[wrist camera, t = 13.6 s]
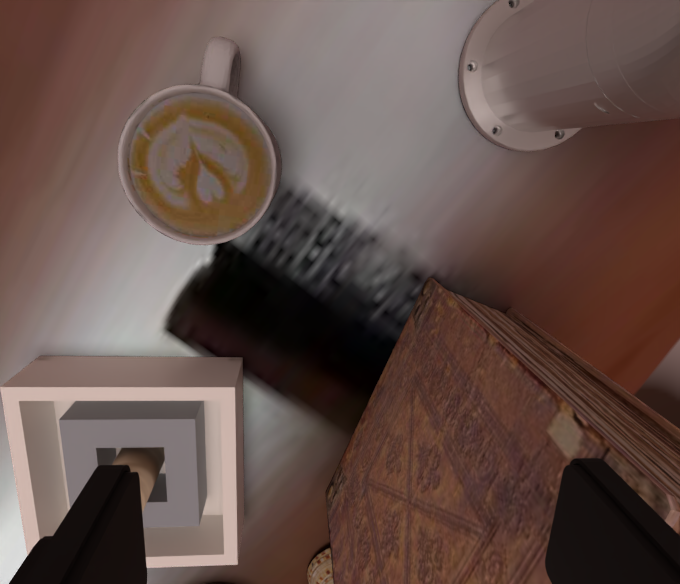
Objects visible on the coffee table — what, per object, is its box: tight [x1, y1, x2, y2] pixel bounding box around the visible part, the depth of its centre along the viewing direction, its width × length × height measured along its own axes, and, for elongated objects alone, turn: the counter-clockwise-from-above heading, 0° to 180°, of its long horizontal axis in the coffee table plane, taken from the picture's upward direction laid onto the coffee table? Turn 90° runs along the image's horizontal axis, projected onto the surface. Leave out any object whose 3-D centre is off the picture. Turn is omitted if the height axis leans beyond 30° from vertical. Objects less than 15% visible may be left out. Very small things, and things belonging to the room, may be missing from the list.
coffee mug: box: [118, 37, 282, 245], centre depth 35 cm, size 13×10×10 cm
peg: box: [112, 447, 165, 513], centre depth 40 cm, size 4×4×10 cm
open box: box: [0, 356, 244, 568], centre depth 43 cm, size 18×18×6 cm
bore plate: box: [59, 401, 207, 528], centre depth 43 cm, size 11×11×4 cm
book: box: [326, 277, 680, 584], centre depth 33 cm, size 25×9×30 cm, turn 157°
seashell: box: [307, 548, 334, 584], centre depth 52 cm, size 8×6×8 cm
